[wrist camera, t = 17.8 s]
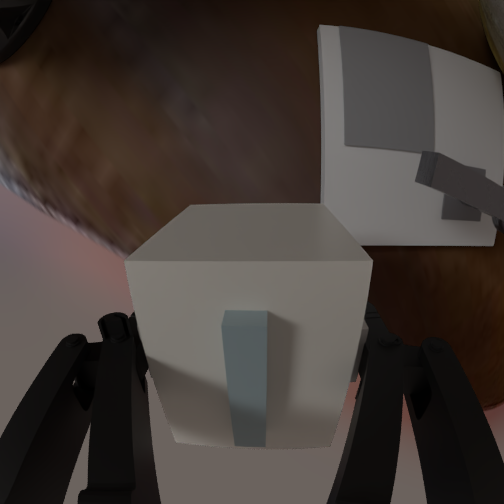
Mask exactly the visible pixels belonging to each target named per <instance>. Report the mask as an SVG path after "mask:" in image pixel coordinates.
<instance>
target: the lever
mask: <svg viewBox="0 0 504 504" xmlns="http://www.w3.org/2000/svg"><path fill="white" fill-rule="evenodd" d="M415 182H417V183H419V184H422V185H424V186H427V187H429V188H432V189H434V190H437V191H439V192H441V193H444V194H446V195H448V196H451V197H453V198H455V199H457V200H459V201H461V202H462V203H463V204H464V205H467V206H469V207H471V208H474V209H476V210H478V211H481V212H483V213H485V214H487V215H490V216H492V221H493V224H494V227H495V228H496V229H497V230H498V231H499V232H501V233H503V234H504V186H503V187H502V186H500V185H498V184H497V183H495V182H493V181H492V180H490V179H488V178H487V177H485V176H483V175H481V174H480V173H478V172H476V171H474V170H472V169H471V168H469V167H467V166H465V165H463V164H461V163H459V162H457V161H455V160H453V159H451V158H449V157H447V156H445V155H443V154H441V153H439V152H430V151H422V155H421V159H420V163H419V167H418V171H417V175H416V178H415Z"/></svg>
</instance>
